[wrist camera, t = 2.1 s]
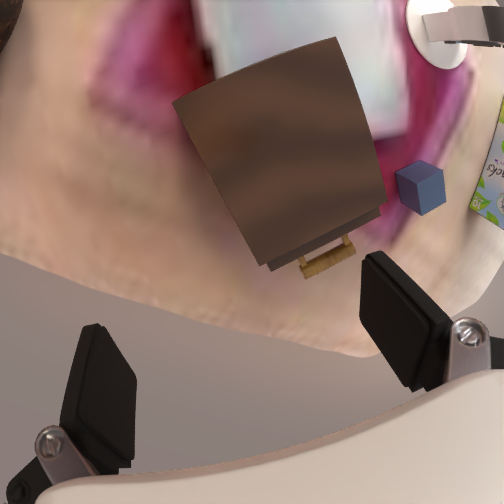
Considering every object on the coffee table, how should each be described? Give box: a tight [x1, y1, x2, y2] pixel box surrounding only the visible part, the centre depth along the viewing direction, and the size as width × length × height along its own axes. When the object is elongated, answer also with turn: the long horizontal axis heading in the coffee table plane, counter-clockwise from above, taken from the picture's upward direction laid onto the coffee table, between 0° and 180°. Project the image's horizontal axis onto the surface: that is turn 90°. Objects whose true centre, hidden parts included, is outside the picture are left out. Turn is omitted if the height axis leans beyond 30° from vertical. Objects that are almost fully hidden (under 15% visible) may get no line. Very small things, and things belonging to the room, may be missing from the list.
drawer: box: [267, 206, 381, 280], centre depth 28 cm, size 18×11×8 cm, turn 26°
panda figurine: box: [406, 0, 504, 69], centre depth 19 cm, size 12×11×15 cm
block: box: [395, 160, 446, 216], centre depth 34 cm, size 4×4×4 cm
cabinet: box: [172, 37, 388, 266], centre depth 26 cm, size 15×13×10 cm
